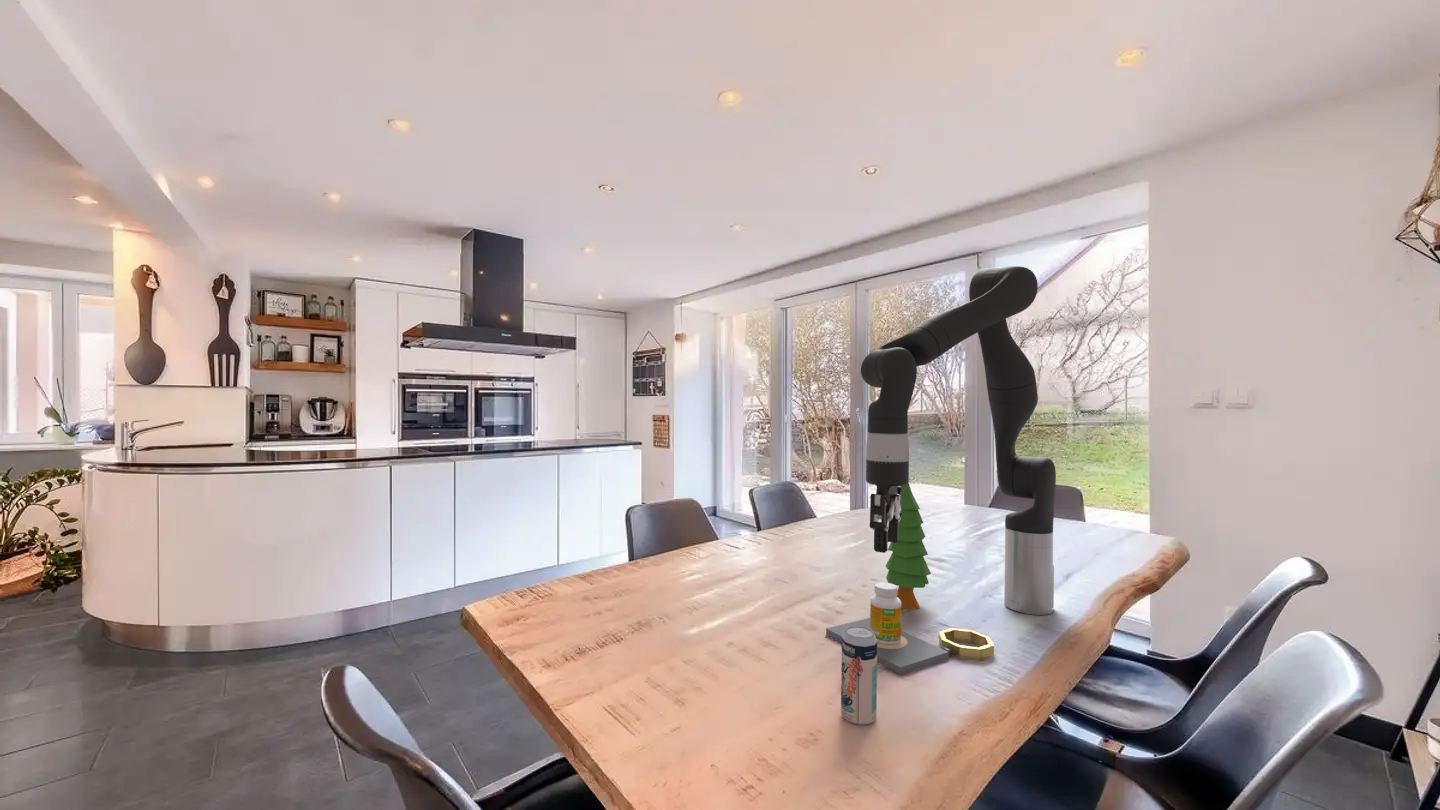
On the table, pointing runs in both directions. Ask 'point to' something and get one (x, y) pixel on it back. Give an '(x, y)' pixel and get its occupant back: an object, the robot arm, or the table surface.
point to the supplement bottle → (886, 614)
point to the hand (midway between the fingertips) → (886, 546)
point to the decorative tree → (908, 553)
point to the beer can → (859, 675)
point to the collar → (966, 651)
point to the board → (898, 650)
